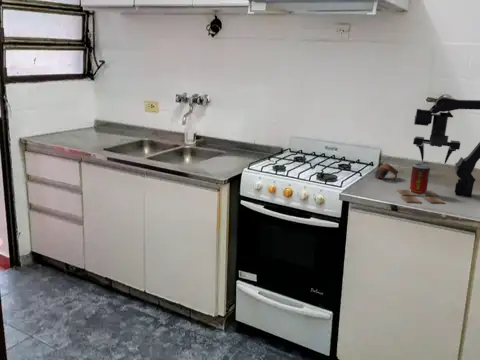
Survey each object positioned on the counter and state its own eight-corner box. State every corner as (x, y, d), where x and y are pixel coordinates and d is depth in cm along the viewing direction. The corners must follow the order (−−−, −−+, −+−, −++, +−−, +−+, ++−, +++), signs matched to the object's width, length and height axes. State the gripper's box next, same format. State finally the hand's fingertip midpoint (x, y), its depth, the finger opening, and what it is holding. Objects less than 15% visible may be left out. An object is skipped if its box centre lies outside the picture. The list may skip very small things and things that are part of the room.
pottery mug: (375, 175, 247) (386, 162, 245) (391, 187, 243) (402, 173, 241) (369, 174, 236) (380, 160, 234) (386, 186, 232) (397, 172, 230)
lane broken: (436, 198, 212) (437, 196, 212) (444, 203, 206) (444, 202, 205) (400, 197, 211) (400, 196, 211) (406, 202, 204) (407, 201, 204)
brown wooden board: (431, 191, 222) (431, 190, 221) (438, 196, 215) (438, 195, 215) (396, 191, 220) (396, 189, 220) (402, 195, 213) (402, 194, 213)
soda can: (424, 190, 220) (428, 163, 217) (427, 195, 214) (432, 167, 210) (407, 189, 221) (411, 162, 218) (410, 194, 214) (414, 166, 211)
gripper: (414, 126, 211) (409, 162, 216) (462, 132, 204) (456, 169, 209) (416, 123, 221) (411, 158, 226) (462, 128, 214) (456, 163, 219)
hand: (433, 162), depth 219 cm, fingers open, 9 cm apart
